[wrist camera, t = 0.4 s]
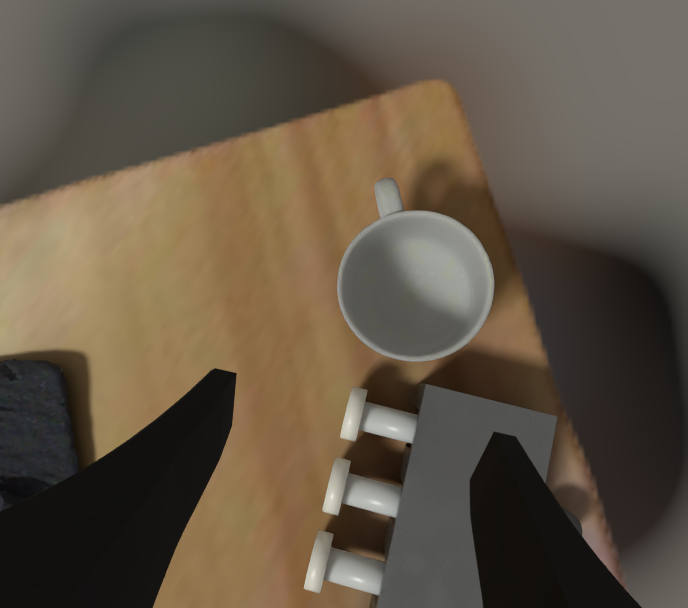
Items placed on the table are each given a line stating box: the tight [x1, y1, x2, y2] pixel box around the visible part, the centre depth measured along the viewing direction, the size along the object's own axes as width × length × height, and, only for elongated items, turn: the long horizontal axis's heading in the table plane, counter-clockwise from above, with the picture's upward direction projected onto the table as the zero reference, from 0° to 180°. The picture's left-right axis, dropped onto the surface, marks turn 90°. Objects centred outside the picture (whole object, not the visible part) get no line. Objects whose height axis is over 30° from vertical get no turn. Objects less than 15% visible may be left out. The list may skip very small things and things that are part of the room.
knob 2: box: [304, 530, 385, 595], centre depth 35 cm, size 4×8×4 cm, turn 76°
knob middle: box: [323, 457, 402, 518], centre depth 36 cm, size 4×8×4 cm, turn 76°
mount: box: [369, 383, 558, 608], centre depth 36 cm, size 18×10×5 cm, turn 166°
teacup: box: [337, 178, 494, 362], centre depth 37 cm, size 14×11×8 cm
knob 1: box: [340, 386, 418, 444], centre depth 37 cm, size 4×8×4 cm, turn 76°
